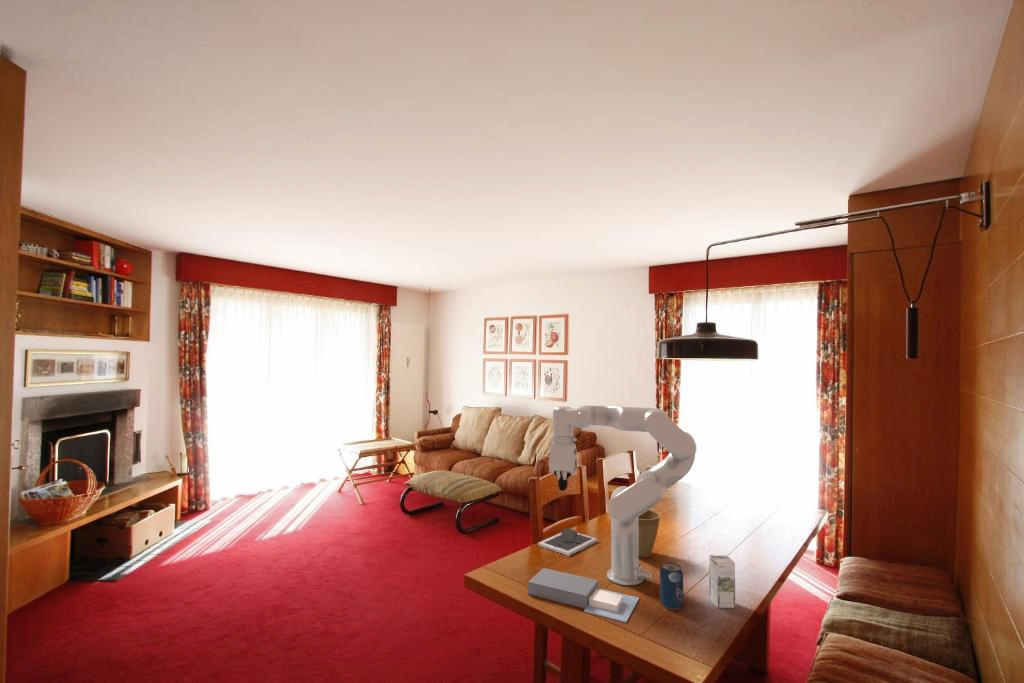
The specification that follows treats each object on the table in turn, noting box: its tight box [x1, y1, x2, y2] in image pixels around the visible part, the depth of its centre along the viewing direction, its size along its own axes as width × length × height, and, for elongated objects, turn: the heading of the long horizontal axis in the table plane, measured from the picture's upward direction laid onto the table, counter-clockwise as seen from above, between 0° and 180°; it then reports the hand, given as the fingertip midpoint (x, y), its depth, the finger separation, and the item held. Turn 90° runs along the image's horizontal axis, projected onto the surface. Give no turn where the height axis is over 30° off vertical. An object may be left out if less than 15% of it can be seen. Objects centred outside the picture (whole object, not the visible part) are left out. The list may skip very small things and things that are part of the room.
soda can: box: [659, 562, 685, 611], centre depth 149 cm, size 7×7×12 cm
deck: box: [527, 567, 599, 610], centre depth 157 cm, size 20×12×4 cm, turn 62°
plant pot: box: [638, 509, 661, 559], centre depth 190 cm, size 15×15×16 cm
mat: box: [583, 588, 640, 624], centre depth 149 cm, size 13×16×1 cm
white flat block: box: [589, 589, 623, 612], centre depth 149 cm, size 9×7×2 cm
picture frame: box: [537, 528, 599, 557], centre depth 200 cm, size 16×3×21 cm
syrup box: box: [708, 554, 736, 609], centre depth 150 cm, size 6×6×14 cm
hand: (562, 489), depth 176 cm, fingers closed
